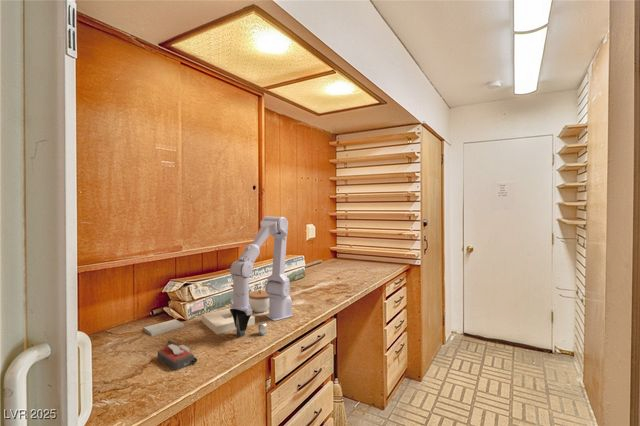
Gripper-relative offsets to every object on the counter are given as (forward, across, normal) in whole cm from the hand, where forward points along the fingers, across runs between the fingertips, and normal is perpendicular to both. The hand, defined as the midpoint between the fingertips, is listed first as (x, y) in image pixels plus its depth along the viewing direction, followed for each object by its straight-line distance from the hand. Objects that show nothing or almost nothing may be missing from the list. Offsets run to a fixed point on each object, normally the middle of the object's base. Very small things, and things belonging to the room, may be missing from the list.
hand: (240, 328), depth 120 cm
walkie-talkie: (+3, +2, -24) cm, 24 cm away
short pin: (+2, +4, +7) cm, 8 cm away
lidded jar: (+3, -20, +19) cm, 28 cm away
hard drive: (+3, -24, -21) cm, 32 cm away
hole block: (+2, -14, +1) cm, 14 cm away
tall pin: (+2, 0, 0) cm, 2 cm away
